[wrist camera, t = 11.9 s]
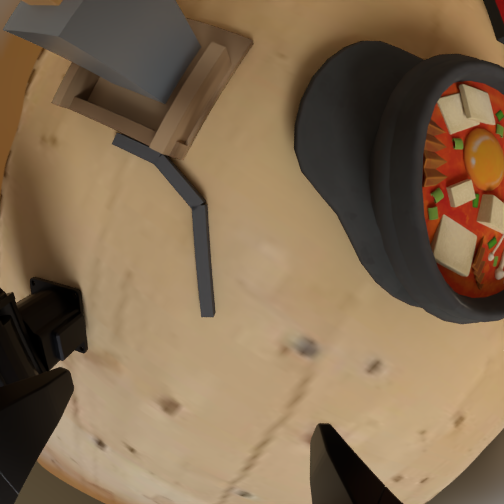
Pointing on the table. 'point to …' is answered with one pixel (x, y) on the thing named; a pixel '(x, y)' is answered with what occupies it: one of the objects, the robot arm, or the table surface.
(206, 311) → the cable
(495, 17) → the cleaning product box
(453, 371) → the table surface
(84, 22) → the block
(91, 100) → the tray
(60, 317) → the robot arm
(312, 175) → the casserole
